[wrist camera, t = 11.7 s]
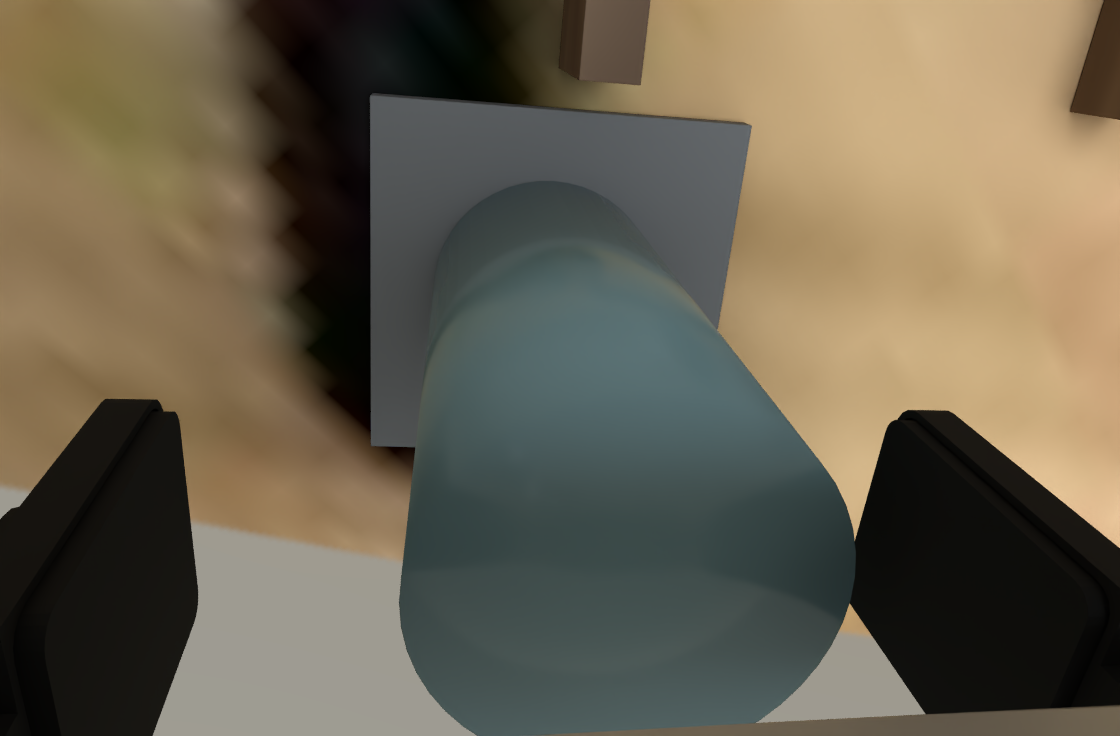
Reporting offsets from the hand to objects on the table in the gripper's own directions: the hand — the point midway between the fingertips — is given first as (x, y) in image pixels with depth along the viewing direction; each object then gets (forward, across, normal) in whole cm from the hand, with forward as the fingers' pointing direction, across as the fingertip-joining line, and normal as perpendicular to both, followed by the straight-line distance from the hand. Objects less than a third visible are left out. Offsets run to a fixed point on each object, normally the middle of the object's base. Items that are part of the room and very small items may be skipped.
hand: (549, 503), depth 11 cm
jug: (+11, -1, +2) cm, 11 cm away
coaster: (+11, -2, +1) cm, 11 cm away
